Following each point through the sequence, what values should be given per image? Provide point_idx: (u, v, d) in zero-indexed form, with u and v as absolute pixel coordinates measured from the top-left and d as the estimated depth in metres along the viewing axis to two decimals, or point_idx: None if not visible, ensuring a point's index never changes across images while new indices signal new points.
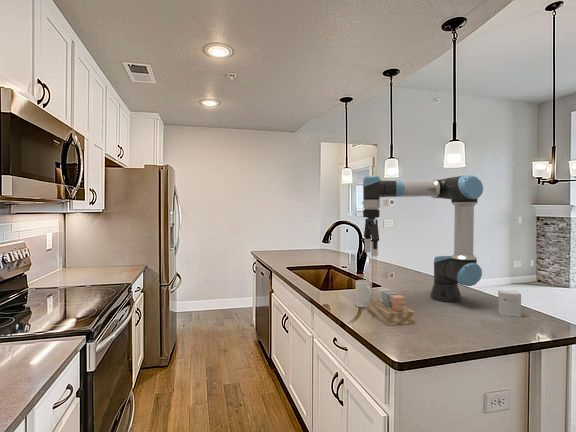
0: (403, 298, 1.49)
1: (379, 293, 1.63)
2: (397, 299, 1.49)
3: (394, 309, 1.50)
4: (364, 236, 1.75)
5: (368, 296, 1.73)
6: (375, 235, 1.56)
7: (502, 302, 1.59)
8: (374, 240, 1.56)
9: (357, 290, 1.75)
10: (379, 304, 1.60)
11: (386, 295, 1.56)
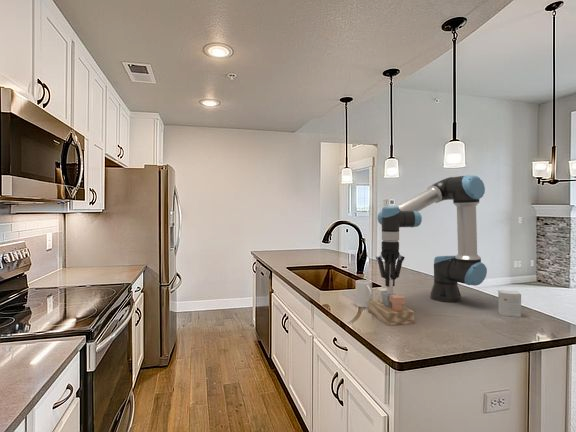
0: (403, 298, 1.49)
1: (379, 293, 1.63)
2: (397, 299, 1.49)
3: (394, 309, 1.50)
4: None
5: (368, 296, 1.73)
6: (381, 273, 1.57)
7: (502, 302, 1.59)
8: None
9: (357, 290, 1.75)
10: (379, 304, 1.60)
11: (386, 296, 1.56)
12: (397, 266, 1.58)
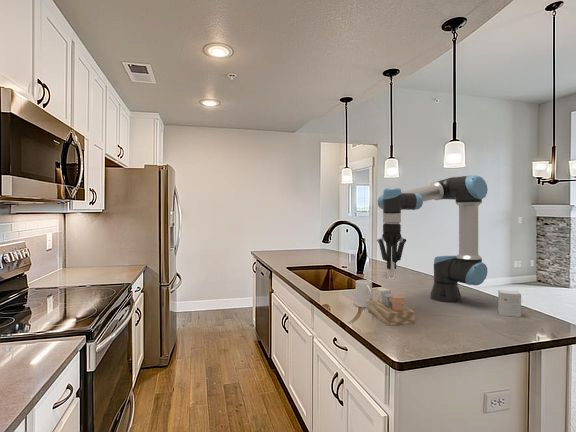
0: (403, 298, 1.49)
1: (379, 293, 1.63)
2: (397, 299, 1.49)
3: (394, 309, 1.50)
4: None
5: (368, 296, 1.73)
6: (382, 255, 1.55)
7: (502, 302, 1.59)
8: (383, 259, 1.56)
9: (357, 290, 1.75)
10: (379, 304, 1.60)
11: (386, 298, 1.56)
12: (399, 249, 1.56)
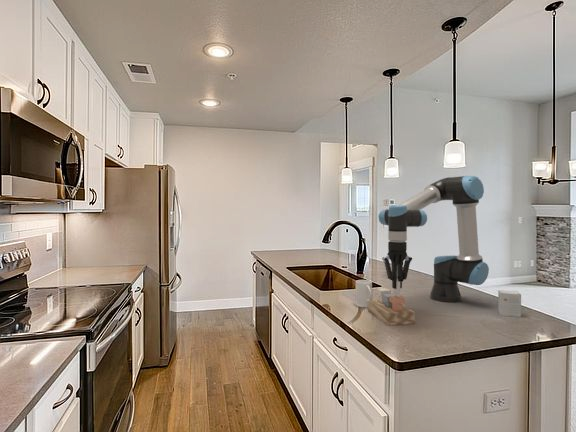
0: (403, 298, 1.49)
1: (379, 293, 1.63)
2: (397, 299, 1.49)
3: (394, 309, 1.50)
4: None
5: (368, 296, 1.73)
6: (388, 274, 1.50)
7: (502, 302, 1.59)
8: (388, 278, 1.51)
9: (357, 290, 1.75)
10: (379, 304, 1.60)
11: (386, 298, 1.56)
12: (404, 267, 1.51)
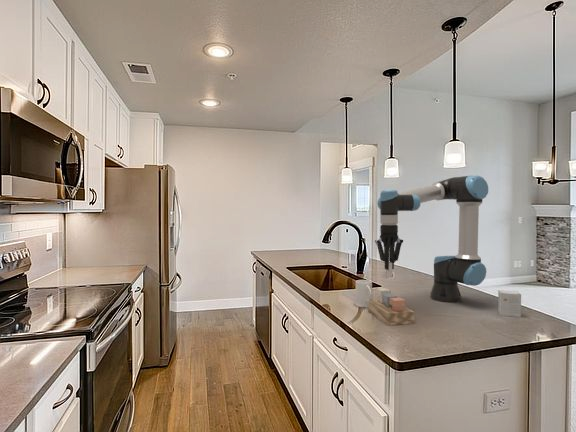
0: (403, 301, 1.49)
1: (379, 293, 1.63)
2: (397, 302, 1.49)
3: None
4: None
5: (368, 296, 1.73)
6: (380, 256, 1.58)
7: (502, 302, 1.59)
8: (381, 260, 1.59)
9: (357, 290, 1.75)
10: (379, 304, 1.60)
11: (386, 298, 1.56)
12: (396, 249, 1.59)
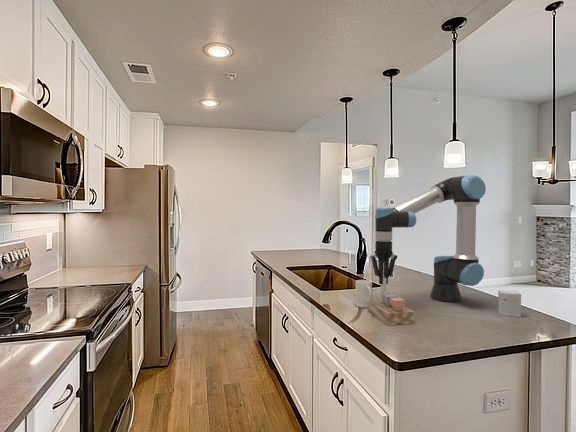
0: (403, 301, 1.49)
1: (379, 295, 1.63)
2: (397, 302, 1.49)
3: None
4: None
5: (368, 296, 1.73)
6: (375, 271, 1.63)
7: (502, 302, 1.59)
8: None
9: (357, 290, 1.75)
10: (379, 304, 1.60)
11: (386, 298, 1.56)
12: (390, 265, 1.64)
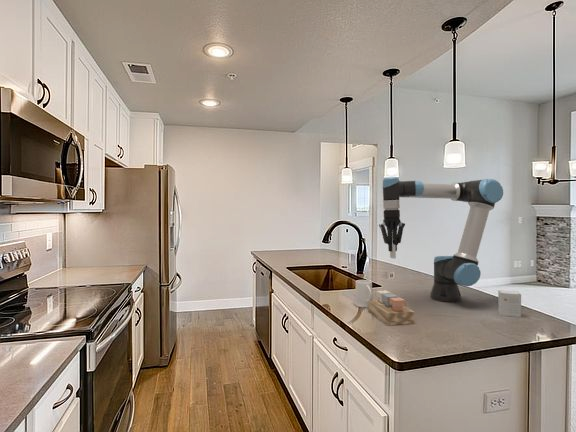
0: (403, 301, 1.49)
1: (379, 295, 1.63)
2: (397, 302, 1.49)
3: None
4: None
5: (368, 296, 1.73)
6: (384, 239, 1.70)
7: (502, 302, 1.59)
8: None
9: (357, 290, 1.75)
10: (379, 304, 1.60)
11: (386, 298, 1.56)
12: (398, 232, 1.71)
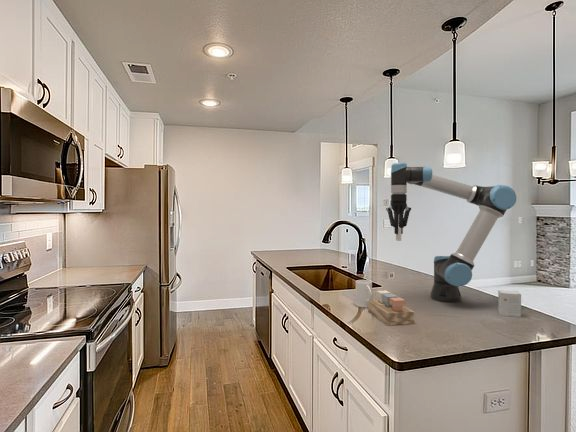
0: (403, 301, 1.49)
1: (379, 295, 1.63)
2: (397, 302, 1.49)
3: None
4: None
5: (368, 296, 1.73)
6: (390, 222, 1.77)
7: (502, 302, 1.59)
8: None
9: (357, 290, 1.75)
10: (379, 304, 1.60)
11: (386, 298, 1.56)
12: (405, 216, 1.78)
